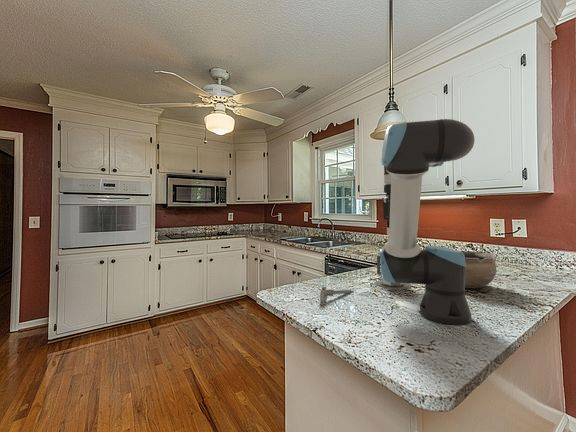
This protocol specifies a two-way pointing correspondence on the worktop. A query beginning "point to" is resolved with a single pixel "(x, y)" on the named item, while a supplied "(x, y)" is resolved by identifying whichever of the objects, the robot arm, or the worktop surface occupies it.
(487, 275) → the ceramic bowl
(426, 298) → the robot arm
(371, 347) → the worktop surface
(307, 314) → the worktop surface
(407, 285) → the trivet
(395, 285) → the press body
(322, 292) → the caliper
